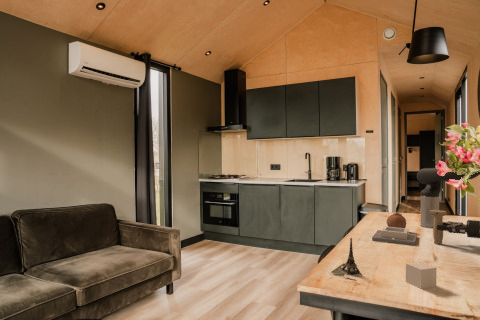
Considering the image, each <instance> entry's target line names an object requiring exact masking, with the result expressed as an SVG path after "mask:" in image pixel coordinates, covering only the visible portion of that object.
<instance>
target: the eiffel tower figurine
mask: <svg viewBox="0 0 480 320" xmlns="http://www.w3.org/2000/svg"><path fill="white" fill-rule="evenodd" d="M349 241H350V242H349V253H348V256H347V259H346V260H347V261H346V262H345V263H342V264H340V265H339V266H337V267H336V268H334V269H332V271H330V273H331V274H333V275H334V276H338V277H344V276H345V275H346V276H352V275H353V276H354V275H355V276H356V275H362V273H361V271H360V269H359V268H358V266H357V263H356V262H355V258H354V251H353V238H352V237H350V238H349ZM346 268H347V269H346ZM345 279H346V280H351V281H355V278H354V279H353V278H350V277H346V278H345Z"/></svg>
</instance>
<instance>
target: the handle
mask: <svg viewBox="0 0 480 320" xmlns="http://www.w3.org/2000/svg"><path fill="white" fill-rule="evenodd" d="M430 213H431V214H432V215H434V226H433V228H432V230H433V231H432V236H433V243H434V244H435V245H443V239H444V231H443V230H437V225H443V222H444V219H443V218H444V216H446V215H448V214H447V211H446V210H440V209H439V210H430Z"/></svg>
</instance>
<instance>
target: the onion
mask: <svg viewBox="0 0 480 320" xmlns="http://www.w3.org/2000/svg"><path fill="white" fill-rule="evenodd" d="M386 225H387V227H396V228H406V227H407V220H406V218H405V216H403V214H402V213H399V212H395V213H392V214H391V215H389V216H388V217H387V218H386ZM406 229H407V228H406Z"/></svg>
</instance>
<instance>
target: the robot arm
mask: <svg viewBox="0 0 480 320" xmlns="http://www.w3.org/2000/svg"><path fill="white" fill-rule="evenodd" d="M446 165H447V166H448V167H449V165H450V164H446ZM436 168H437V167H424V168H421V169H419V171H417V173H416V179H417V181H418V182H419V183H420V184H424V185H426V186H425V188H424V189H422V190H421V191H420V208H419V209H420V213H419V214H420V215H419V216H420V217H419V218H420V219H419V221H420V227H424V228H432V229H433V226H434V215H432V214H431V213H430V210H440V193H441V190H442V182H449V181H448V180H449V179H455V180H460V179H461V177H463V176H464V175H457V174H456V173H454V172H448V173H446V174H445V176H443V177H442V176H439V175H438V174H437V169H436ZM449 168H450V167H449ZM479 176H480V172H478V173H475V174H473V175H471V177H470V178H469V180H472V179H473V180H474V179H475V178H477V177H479ZM437 230H443V232H448V233H449V234H450V233H451V234H460V235H461V234H463V235H465V234H466V236H467V238H471V239H472V238H473V239H480V220H473V219H468V220H467V221H466V224H465V223H464V222H462V221H461V222H457V221H443V225H437Z"/></svg>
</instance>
